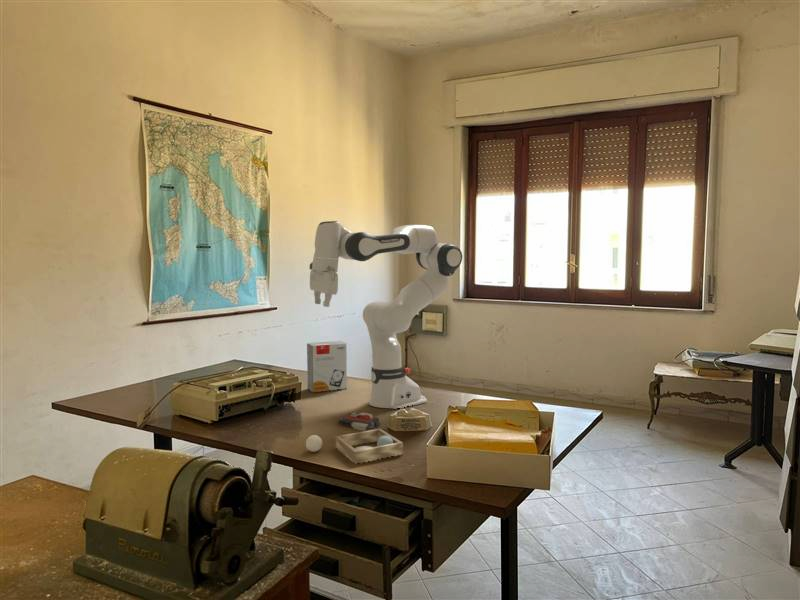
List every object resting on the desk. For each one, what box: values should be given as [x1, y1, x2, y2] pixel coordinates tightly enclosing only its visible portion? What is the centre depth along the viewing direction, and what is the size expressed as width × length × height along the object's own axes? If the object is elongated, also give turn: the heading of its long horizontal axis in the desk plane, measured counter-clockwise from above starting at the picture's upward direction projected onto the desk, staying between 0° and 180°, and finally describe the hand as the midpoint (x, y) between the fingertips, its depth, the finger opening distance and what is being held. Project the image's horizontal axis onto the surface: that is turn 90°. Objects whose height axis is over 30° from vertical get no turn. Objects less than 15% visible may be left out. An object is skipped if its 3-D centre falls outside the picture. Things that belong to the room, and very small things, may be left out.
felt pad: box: [355, 445, 373, 450], centre depth 167 cm, size 6×6×1 cm
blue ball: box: [376, 436, 393, 447], centre depth 165 cm, size 5×5×5 cm
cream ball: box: [305, 434, 323, 453], centre depth 167 cm, size 5×5×5 cm
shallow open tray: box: [334, 428, 404, 465], centre depth 166 cm, size 15×15×4 cm
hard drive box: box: [306, 340, 348, 393], centre depth 240 cm, size 16×8×20 cm, turn 115°
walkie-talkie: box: [337, 412, 389, 433], centre depth 189 cm, size 9×4×20 cm
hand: (321, 305), depth 200 cm, fingers open, 8 cm apart
